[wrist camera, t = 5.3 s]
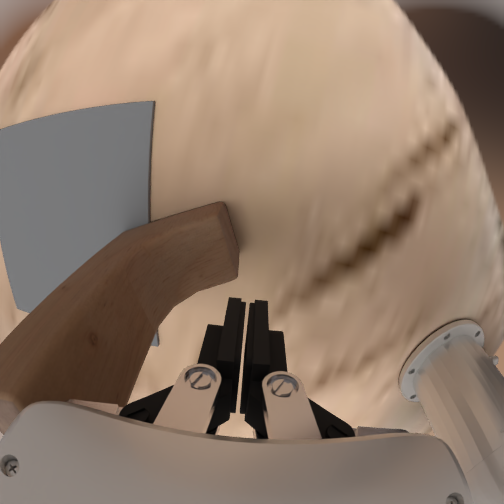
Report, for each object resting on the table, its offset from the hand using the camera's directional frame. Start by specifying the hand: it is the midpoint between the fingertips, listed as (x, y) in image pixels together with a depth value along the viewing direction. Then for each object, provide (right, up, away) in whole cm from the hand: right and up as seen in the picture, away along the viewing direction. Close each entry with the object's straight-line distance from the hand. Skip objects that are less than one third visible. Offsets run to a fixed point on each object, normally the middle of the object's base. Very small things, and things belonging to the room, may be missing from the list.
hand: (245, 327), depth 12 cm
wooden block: (-5, +4, +10) cm, 12 cm away
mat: (-18, +5, +10) cm, 22 cm away
